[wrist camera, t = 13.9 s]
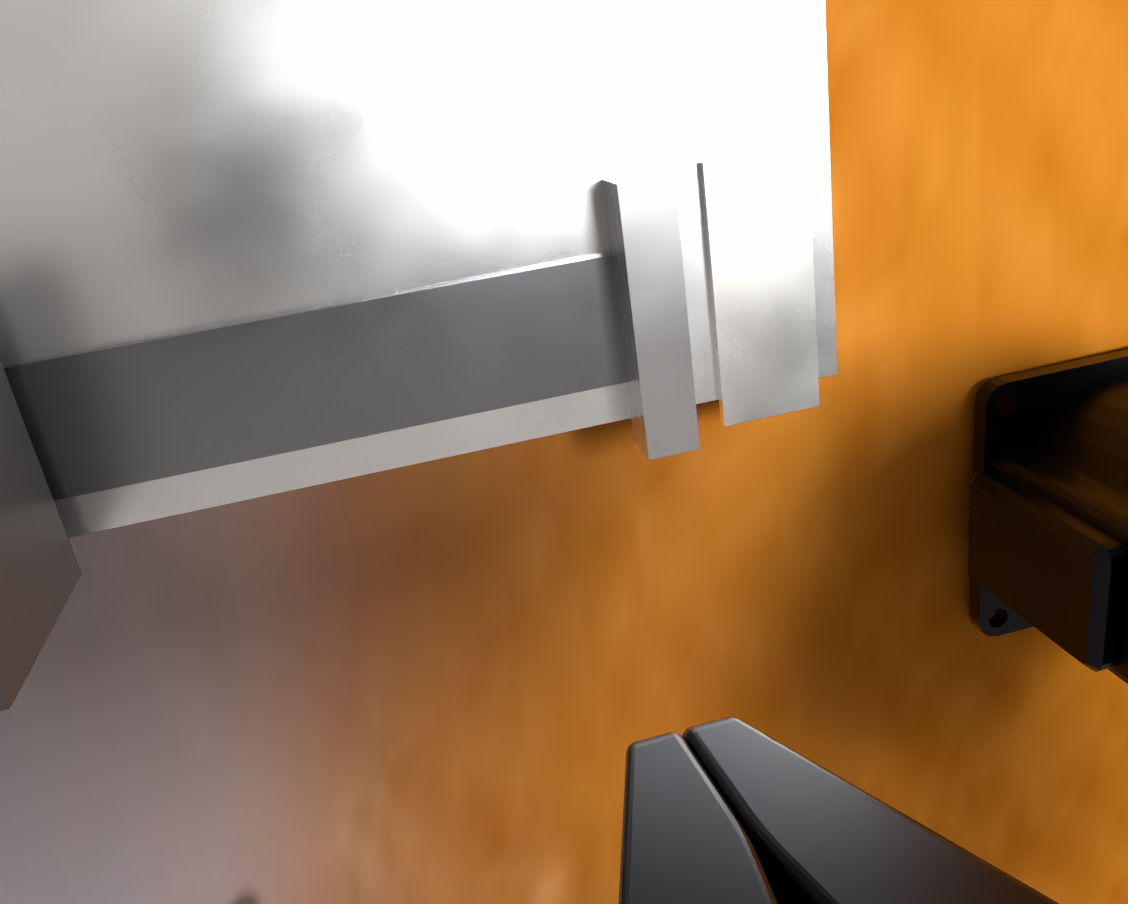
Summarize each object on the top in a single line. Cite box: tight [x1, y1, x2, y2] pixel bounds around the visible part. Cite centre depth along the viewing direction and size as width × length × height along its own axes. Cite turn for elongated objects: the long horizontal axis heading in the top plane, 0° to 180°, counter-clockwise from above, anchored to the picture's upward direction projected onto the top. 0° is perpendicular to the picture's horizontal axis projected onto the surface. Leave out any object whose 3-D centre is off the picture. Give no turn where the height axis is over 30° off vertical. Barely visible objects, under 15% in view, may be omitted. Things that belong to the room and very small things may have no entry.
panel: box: [0, 0, 837, 538], centre depth 15 cm, size 22×16×2 cm
